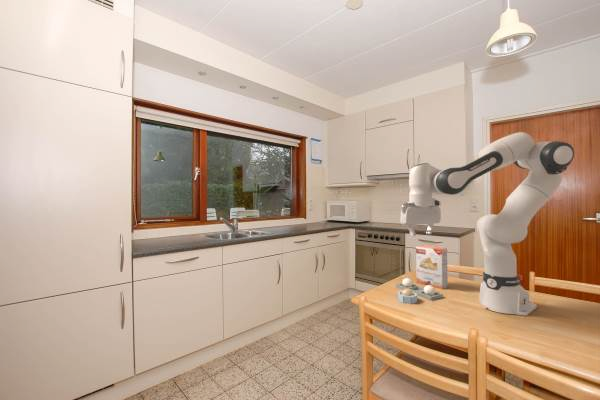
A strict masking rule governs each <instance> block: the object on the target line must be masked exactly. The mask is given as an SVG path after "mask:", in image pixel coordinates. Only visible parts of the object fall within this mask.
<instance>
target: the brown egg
mask: <svg viewBox="0 0 600 400" xmlns="http://www.w3.org/2000/svg"><path fill="white" fill-rule="evenodd" d="M401 291H402V290H401ZM402 295H404V296H413V292H412V291H411V290H410V289H404V290H403V291H402Z"/></svg>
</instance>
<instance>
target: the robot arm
mask: <svg viewBox="0 0 600 400" xmlns="http://www.w3.org/2000/svg"><path fill="white" fill-rule="evenodd" d="M574 157H575V149H574V147H573V145H572V144H570V143H568V142H564V141H559V140H555V141H539V142H535V140H534V138H533V137H532V136H531V135H530V134H529V133H526V132H523V131H518V132H515V133H511V134H509V135H506V136H502V137H501V138H499V139H497V140H495V141H492V142H490V143H489V144H487V145H486V146H484V147H483V148H482V149H480V151H479V153H478V158H476V159H474V160H471V161H470V162H469V163H467V164H465V165H463V166H460V167H459V166H458V167H449V168H447V169H446V168H445V169H439V168H437V167H435V166H433V165H431V164H430V163H428V162H424V163H419V164H415V165H413V166H412V167H411V168H410V169H409V173H408V174H409V175H408V177H409V178H408V186H409V193H408V195H409V196H408V200H409V201H408V202H404V203H403V204H402V205H401V210H400V217H399V221H400V224H401V225H402V226H407V227H406V228H407V229H408V230H409V231H408V232H409V236H410V237H415V236H416V234H417V233H416V231H415V230H414V228H415V226H417V225H426V226H427V228H426V229H425V234H426V235H432V234H433V232H432V230H433V228H434V224H440V222H441V219H442V218H441V217H442V215H441V213H442V212H441V204H442V203H441V201H440V200H439V199H436V198H435V197H433V193H435V194H437V195H458V194H460V193H462V192H463V191H464V190H465V189H466V187H467V186H468V185H469V184H470V183H471V182H472V181H474V180H476V179H478V178H480V177H481V176H483V175H485V174H487V173H489V172H492V171H497V170H500V169H503V168H506V167H508V166H509V165H512V164H514V165H515V166H516V167H518V168H520V169H523V170H529V172H528V174H527V176H526V177H525V178H524V179H523V180H522V182H521V183H520V184H518V186H517V187H516V188H515V189H514V190H513V191H511V193H510V194H509V196H507V198H505V204H504V206H503V208H502V209H501V210H500V212H499V213H497V214H494V213H492V214H491V213H490V214H486V215H483V216H481V217H480V218H478V220H477V221H476V230H477V231H478V234H479V238H480V244H481V247H482V251H483V266H484V267H483V270H484V271H483V273H482V280H483V281H482V282H481V283H480V289H479V297H477V300H478V301H479V303H480V304H481V306H482V305H483V306H484V307H485V309H487V310H489V311H492V312H496V313H500V314H508V315H518V316H523V317H524V316H525V317H526V316H529V314H530V313H531V314H532V312H533V311H535V310H536V309H537V308H538V306H537V304H536V303H534V302H532V301H530V293H529V291H527V290H526V289H525V288H524V287H523V286H522V285H521V283H520V281H523V275H522V274H518V273H517V271H518V270H517V269H518V267H517V262H518V261H517V255H516V253H515V252H514V250H513V248H512V244H518V243H521V242H522V241H524V240H525V239H526V238H527V235H528V231H529V230H528V227H529V225H530V223H531V222H532V221H531V220H532V219H533V217H534V216H535V215H536V213H537V212H538V211H539V210H540V209H541V208H542V207H543V206H545V204H546V203H547V202H548V201H549V200H550V198H552V196H553V195H554V194H555V193H556V191H557V190H558V189H559V188H560V186H561V183H562V181H563V178H562V175H561V173H564V172H565V171H566V170H567V169H568V167H569V166H570V165H571V163H572V161H573V159H574Z"/></svg>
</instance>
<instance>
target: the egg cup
mask: <svg viewBox="0 0 600 400" xmlns="http://www.w3.org/2000/svg"><path fill="white" fill-rule="evenodd" d="M402 291H403V290H402V289H401V290H398V291H397V301H398V302H400V303H403V304H409V305H413V304H417V303H418V295H417V293H415V292H413V296H404V295H402Z"/></svg>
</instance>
